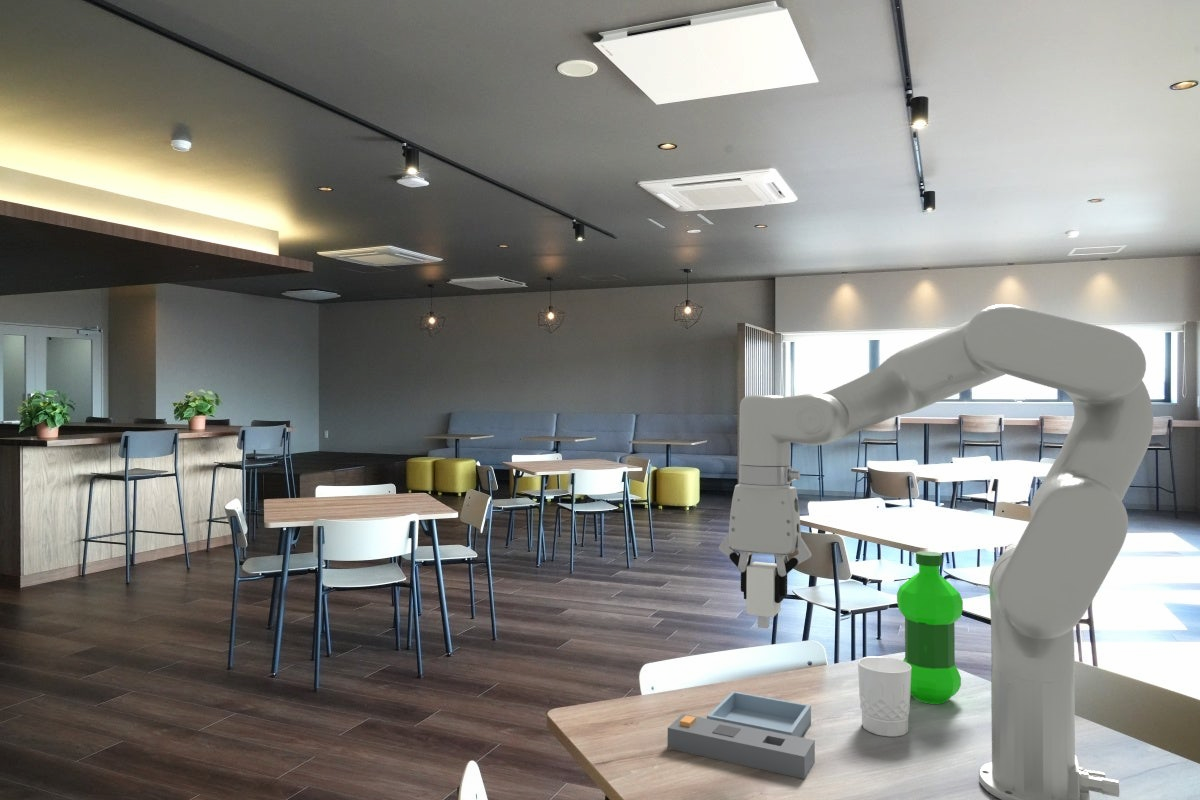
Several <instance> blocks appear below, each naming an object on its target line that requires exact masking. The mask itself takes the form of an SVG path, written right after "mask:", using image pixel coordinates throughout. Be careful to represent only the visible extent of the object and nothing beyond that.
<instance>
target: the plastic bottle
mask: <svg viewBox="0 0 1200 800" xmlns="http://www.w3.org/2000/svg"><path fill="white" fill-rule="evenodd" d="M943 561H944V560H943V554H942V553H940V552H935V551H926V550H925V551H924V550H923V551H917V552H915V564H917V565H918V573H916V574H914V575H913V576H912V577H910V578H909V579H907V581H905V582H904V583H903V584H902V585H900V586H899V588H898V590H897V593H896V603H897V607H898V610H899V611H900V612H901V614H902V615H903V616H904V658H903V660H902V661H904V662H906V663H908V664H910V665H911V667H912V669H911V694H910V696H912V697H913V698H914V697H915V698H914V699H915V700H916V699H917V700H916V701H918V700H919V702H921V701H922V702H921V703H923V702H926V703H925V704H929V703H931V704H930V705H942V704H941V703H943V704H945V703H946V702H947V701H948V700H950V699H951V698H952V697H953V696H956V694H957V693H958V692H959V690H960V688H961V686H962V677H961V675H960V672H959V670H958V668H957V665H955V664H956V660H955V659H956V658H955V656H956V654H955V650H956V649H955V648H956V647H955V646H956V645H955V643H956V642H955V622H957V621H958V620H959V619H960V618H961V617H962V615H963V609H964V605H963V599H962V596H961V593H960V592H959V591H958V590H957V589H956V588H955V587H954V586H953V585H952V584H951V583H950V582H949V581H947V580H946V578H945V577H943V576H942V575H941V574H940V567H941V566H943ZM945 701H946V702H945ZM944 702H945V703H944Z"/></svg>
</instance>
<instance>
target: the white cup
mask: <svg viewBox="0 0 1200 800" xmlns="http://www.w3.org/2000/svg"><path fill="white" fill-rule="evenodd" d="M857 667H858V668H857V669H858V672H857V673H858V688H859V690H858V691H859V692H858V693H859V701H860V702H859V703H860V709H861V723H862V724H861V725H862V728H863V729H865V731H867V732H869V733H872V734H874V735H876V736H881V737H893V738H894V737H901V736H904V735H906V734H907V733H908V732H909V714H910V704H911V669H912V667H911V665H910V664H908V663H906V662H904V661H903V660H901V659H898V658H894V657H887V656H875V655H874V656H866V657H865V656H864V657H862V658H859V659H858V660H857Z"/></svg>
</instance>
